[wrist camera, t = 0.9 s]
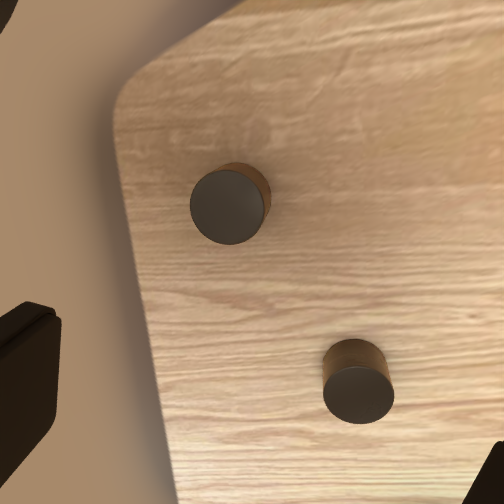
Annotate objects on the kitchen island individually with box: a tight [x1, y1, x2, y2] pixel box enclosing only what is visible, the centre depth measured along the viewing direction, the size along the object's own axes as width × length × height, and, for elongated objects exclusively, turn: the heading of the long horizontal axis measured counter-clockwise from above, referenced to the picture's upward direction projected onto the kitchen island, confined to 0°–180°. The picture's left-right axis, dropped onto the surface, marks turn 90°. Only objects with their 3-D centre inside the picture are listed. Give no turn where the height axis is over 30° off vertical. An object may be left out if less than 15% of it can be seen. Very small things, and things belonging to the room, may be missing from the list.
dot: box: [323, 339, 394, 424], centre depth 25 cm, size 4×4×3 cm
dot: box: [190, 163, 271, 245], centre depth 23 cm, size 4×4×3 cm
